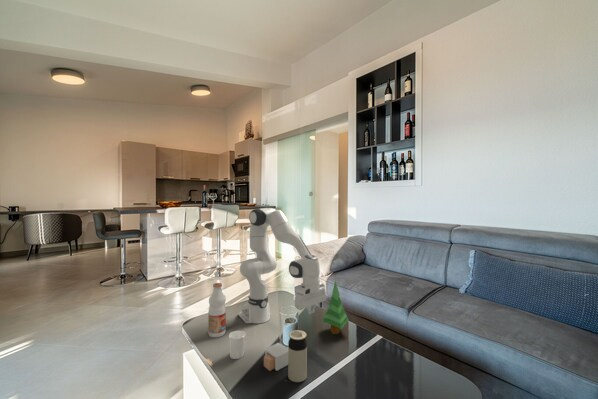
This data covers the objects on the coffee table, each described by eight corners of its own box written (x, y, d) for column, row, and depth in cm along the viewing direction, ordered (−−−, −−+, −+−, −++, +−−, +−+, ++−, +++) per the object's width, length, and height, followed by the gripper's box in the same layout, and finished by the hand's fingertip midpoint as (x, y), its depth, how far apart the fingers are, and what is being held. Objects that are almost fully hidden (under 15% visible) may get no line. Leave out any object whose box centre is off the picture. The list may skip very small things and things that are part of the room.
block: (263, 366, 118) (263, 356, 118) (271, 362, 121) (271, 352, 121) (269, 371, 114) (269, 360, 115) (277, 366, 118) (277, 356, 118)
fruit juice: (208, 330, 150) (209, 282, 150) (225, 328, 152) (225, 280, 153) (207, 339, 141) (208, 287, 141) (225, 336, 143) (226, 285, 144)
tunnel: (265, 361, 121) (265, 348, 121) (278, 354, 126) (278, 342, 126) (276, 370, 114) (276, 357, 114) (290, 363, 120) (290, 350, 120)
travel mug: (292, 385, 106) (292, 340, 106) (285, 373, 113) (285, 331, 113) (309, 379, 109) (310, 336, 109) (302, 368, 116) (302, 328, 116)
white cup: (239, 348, 132) (239, 328, 132) (248, 355, 126) (248, 334, 126) (225, 355, 126) (225, 334, 126) (234, 362, 121) (234, 340, 121)
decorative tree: (339, 324, 159) (339, 275, 159) (352, 337, 144) (352, 282, 144) (319, 327, 154) (319, 277, 155) (330, 341, 139) (330, 285, 140)
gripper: (320, 281, 145) (320, 306, 145) (292, 289, 131) (292, 317, 131) (328, 283, 140) (328, 309, 140) (301, 292, 127) (301, 321, 126)
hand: (311, 313), depth 135 cm, fingers closed
